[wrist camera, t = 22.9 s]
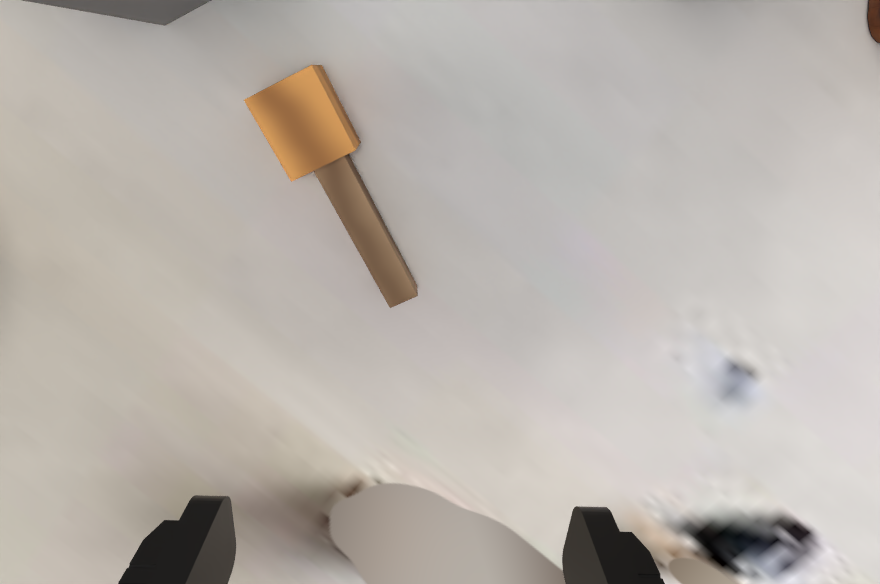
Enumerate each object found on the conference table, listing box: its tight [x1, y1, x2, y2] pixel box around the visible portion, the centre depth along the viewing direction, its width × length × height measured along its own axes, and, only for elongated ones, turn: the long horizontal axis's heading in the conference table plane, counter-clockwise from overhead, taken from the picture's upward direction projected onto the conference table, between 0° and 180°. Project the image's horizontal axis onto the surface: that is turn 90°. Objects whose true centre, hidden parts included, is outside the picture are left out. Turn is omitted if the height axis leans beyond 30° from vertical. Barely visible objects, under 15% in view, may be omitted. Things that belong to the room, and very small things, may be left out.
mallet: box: [244, 65, 418, 308], centre depth 46 cm, size 6×22×5 cm, turn 24°
